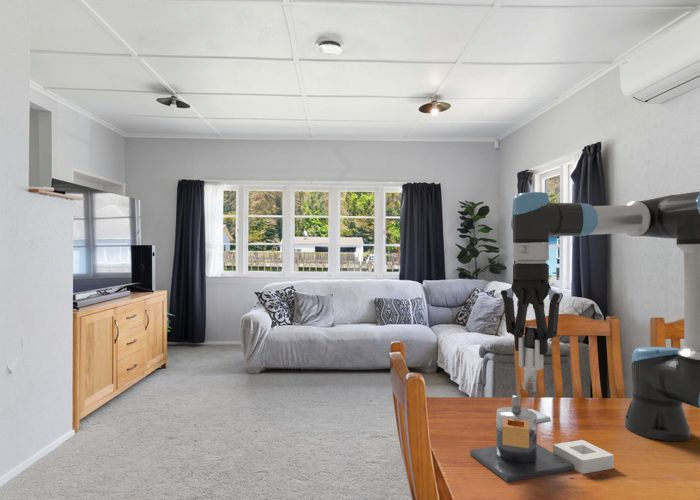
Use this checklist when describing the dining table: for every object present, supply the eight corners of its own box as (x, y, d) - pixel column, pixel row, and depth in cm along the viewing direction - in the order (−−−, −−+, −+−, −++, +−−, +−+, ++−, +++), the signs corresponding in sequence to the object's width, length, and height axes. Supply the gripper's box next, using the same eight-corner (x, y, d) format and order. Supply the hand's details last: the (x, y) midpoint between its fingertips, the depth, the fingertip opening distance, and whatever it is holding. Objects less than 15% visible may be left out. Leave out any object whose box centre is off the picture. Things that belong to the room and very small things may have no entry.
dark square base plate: (531, 445, 118) (531, 418, 118) (574, 470, 105) (574, 439, 105) (470, 454, 112) (470, 425, 112) (507, 482, 99) (507, 449, 99)
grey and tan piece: (497, 419, 116) (497, 388, 116) (536, 424, 113) (536, 393, 113) (493, 443, 102) (494, 408, 102) (538, 449, 98) (538, 413, 98)
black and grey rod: (526, 387, 106) (529, 326, 106) (539, 390, 103) (542, 327, 104) (519, 389, 104) (522, 326, 104) (532, 392, 101) (535, 328, 102)
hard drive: (517, 422, 131) (550, 416, 136) (497, 412, 139) (530, 407, 144) (517, 428, 131) (550, 422, 136) (497, 418, 139) (530, 413, 144)
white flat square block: (582, 451, 114) (582, 439, 114) (613, 468, 106) (613, 455, 106) (553, 456, 112) (553, 444, 112) (582, 473, 103) (582, 460, 103)
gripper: (489, 262, 106) (489, 364, 106) (561, 263, 95) (562, 377, 95) (504, 261, 112) (504, 358, 112) (574, 262, 101) (574, 370, 101)
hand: (531, 367), depth 104 cm, fingers closed on black and grey rod, 3 cm apart
